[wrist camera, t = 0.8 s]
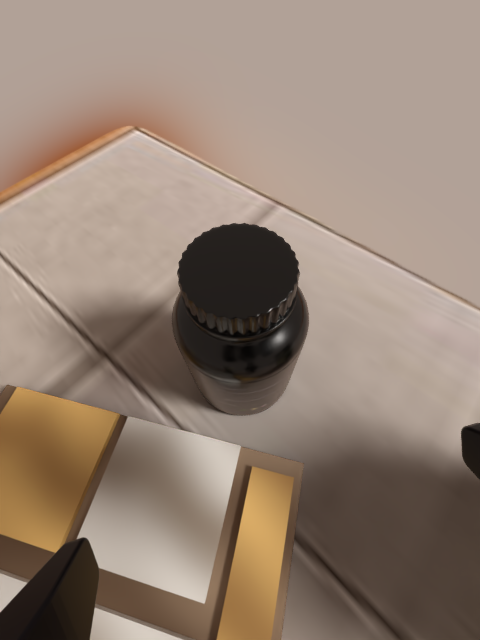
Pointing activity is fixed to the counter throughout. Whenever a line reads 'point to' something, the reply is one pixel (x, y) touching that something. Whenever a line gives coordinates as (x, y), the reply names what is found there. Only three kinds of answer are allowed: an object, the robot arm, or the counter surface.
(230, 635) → the wooden tray
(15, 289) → the counter surface
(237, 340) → the supplement bottle
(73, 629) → the robot arm
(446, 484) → the counter surface
